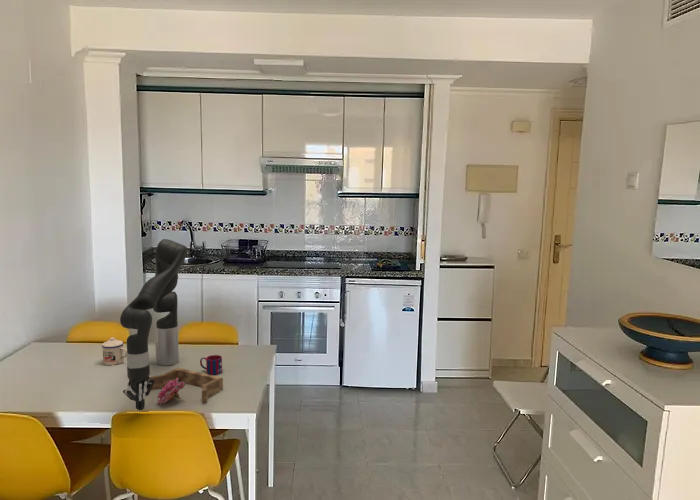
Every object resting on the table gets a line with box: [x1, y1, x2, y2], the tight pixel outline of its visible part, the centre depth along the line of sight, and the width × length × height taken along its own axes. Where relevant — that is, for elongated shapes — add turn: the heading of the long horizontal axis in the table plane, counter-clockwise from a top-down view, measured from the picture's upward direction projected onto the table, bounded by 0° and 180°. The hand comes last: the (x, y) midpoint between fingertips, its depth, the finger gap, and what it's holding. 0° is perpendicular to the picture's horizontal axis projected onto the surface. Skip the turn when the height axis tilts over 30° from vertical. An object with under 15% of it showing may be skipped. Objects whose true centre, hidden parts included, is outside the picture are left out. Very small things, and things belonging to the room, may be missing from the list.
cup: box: [199, 354, 223, 376], centre depth 234 cm, size 7×10×7 cm
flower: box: [156, 378, 186, 405], centre depth 203 cm, size 11×10×10 cm
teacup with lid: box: [101, 337, 127, 366], centre depth 243 cm, size 12×9×12 cm
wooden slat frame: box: [149, 367, 224, 404], centre depth 214 cm, size 29×14×5 cm, turn 65°
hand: (140, 409), depth 192 cm, fingers closed
